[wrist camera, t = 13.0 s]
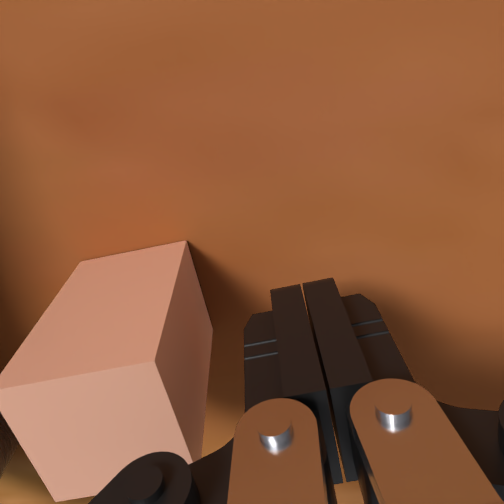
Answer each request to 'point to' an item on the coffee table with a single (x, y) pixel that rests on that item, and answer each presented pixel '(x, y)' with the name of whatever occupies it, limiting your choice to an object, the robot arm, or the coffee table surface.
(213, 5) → the coffee table surface
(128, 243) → the coffee table surface
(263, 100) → the coffee table surface
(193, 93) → the coffee table surface
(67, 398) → the salmon pink block
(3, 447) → the arm
